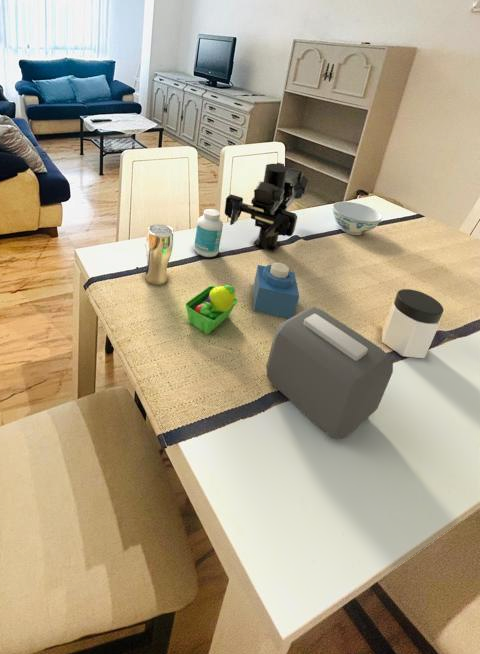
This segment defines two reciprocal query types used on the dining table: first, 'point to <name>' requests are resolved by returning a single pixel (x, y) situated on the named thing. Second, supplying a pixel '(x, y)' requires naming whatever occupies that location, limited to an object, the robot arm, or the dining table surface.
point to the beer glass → (158, 253)
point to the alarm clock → (328, 370)
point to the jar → (412, 323)
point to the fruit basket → (211, 307)
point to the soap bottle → (275, 293)
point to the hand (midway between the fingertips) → (247, 229)
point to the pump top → (279, 270)
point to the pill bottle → (208, 233)
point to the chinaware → (355, 217)
